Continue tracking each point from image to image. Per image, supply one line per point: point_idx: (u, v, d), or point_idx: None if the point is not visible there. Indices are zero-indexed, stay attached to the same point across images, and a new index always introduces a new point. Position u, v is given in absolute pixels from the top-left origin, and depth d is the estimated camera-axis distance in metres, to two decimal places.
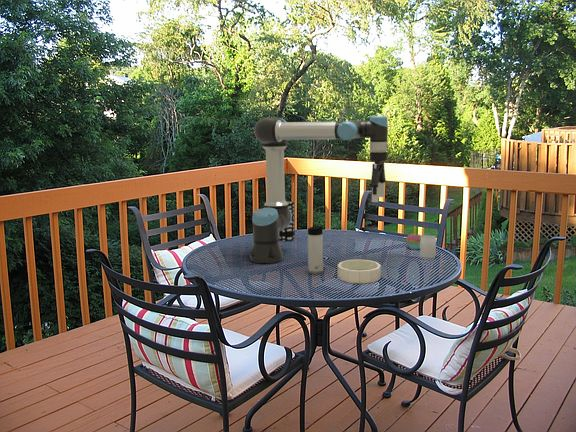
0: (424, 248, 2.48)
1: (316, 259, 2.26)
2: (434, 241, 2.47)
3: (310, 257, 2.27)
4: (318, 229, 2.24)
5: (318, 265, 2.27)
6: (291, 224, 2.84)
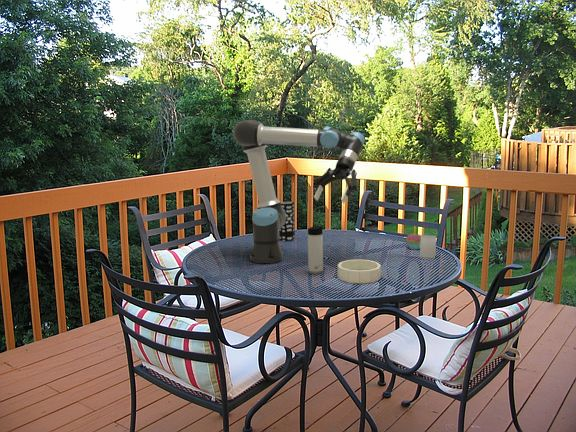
0: (424, 248, 2.48)
1: (316, 259, 2.26)
2: (434, 241, 2.47)
3: (310, 257, 2.27)
4: (318, 229, 2.24)
5: (318, 265, 2.27)
6: (291, 224, 2.84)
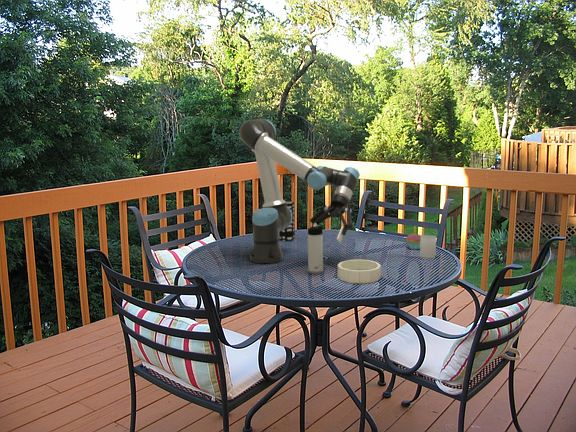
0: (424, 248, 2.48)
1: (316, 259, 2.26)
2: (434, 241, 2.47)
3: (310, 257, 2.27)
4: (318, 229, 2.24)
5: (318, 265, 2.27)
6: (291, 224, 2.84)
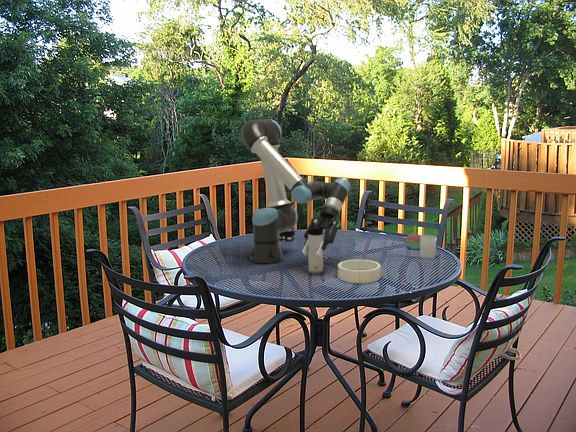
0: (424, 248, 2.48)
1: (316, 259, 2.26)
2: (434, 241, 2.47)
3: (310, 257, 2.27)
4: (318, 229, 2.24)
5: (318, 265, 2.27)
6: None
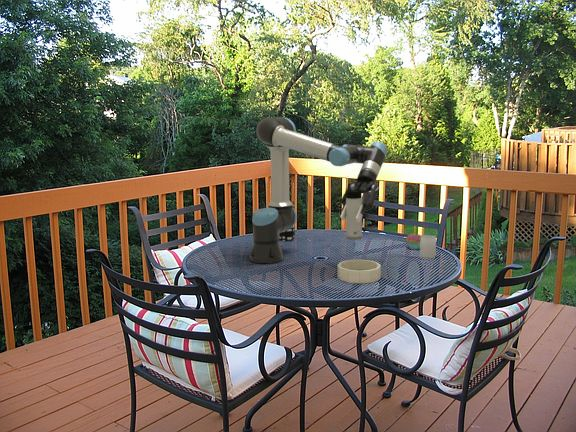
0: (424, 248, 2.48)
1: (355, 224, 2.15)
2: (434, 241, 2.47)
3: (349, 222, 2.16)
4: (357, 192, 2.13)
5: (357, 230, 2.16)
6: None
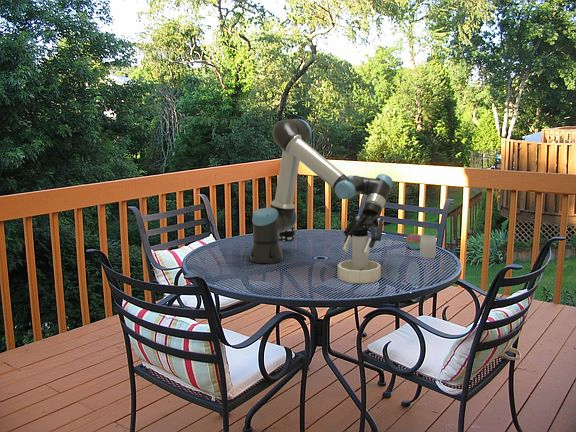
0: (424, 248, 2.48)
1: (361, 261, 2.17)
2: (434, 241, 2.47)
3: (355, 259, 2.18)
4: (364, 230, 2.15)
5: (363, 268, 2.18)
6: None
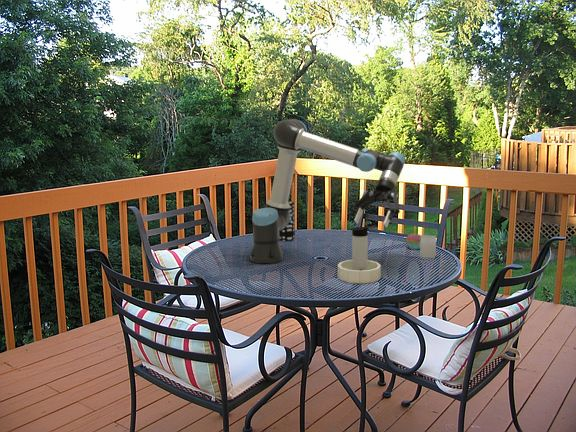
0: (424, 248, 2.48)
1: (361, 261, 2.17)
2: (434, 241, 2.47)
3: (355, 259, 2.18)
4: (363, 230, 2.15)
5: (363, 268, 2.18)
6: (291, 224, 2.84)
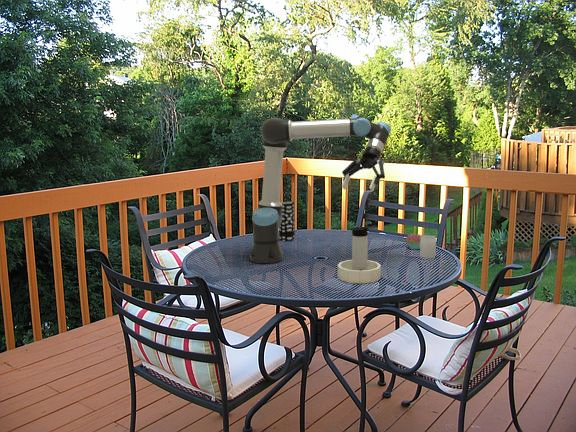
0: (424, 248, 2.48)
1: (361, 261, 2.17)
2: (434, 241, 2.47)
3: (354, 259, 2.18)
4: (363, 230, 2.15)
5: (363, 268, 2.18)
6: (291, 224, 2.84)
